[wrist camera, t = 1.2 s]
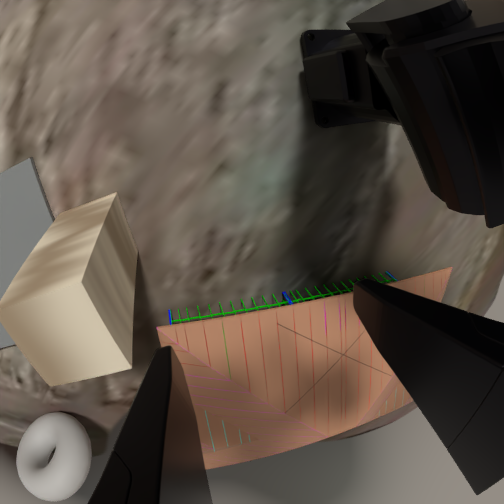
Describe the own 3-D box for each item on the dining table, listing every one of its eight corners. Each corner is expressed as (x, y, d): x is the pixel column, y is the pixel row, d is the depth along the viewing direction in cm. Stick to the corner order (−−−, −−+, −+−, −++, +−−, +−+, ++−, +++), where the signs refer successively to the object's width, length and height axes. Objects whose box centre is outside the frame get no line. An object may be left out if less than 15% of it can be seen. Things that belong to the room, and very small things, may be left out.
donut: (77, 394, 23) (71, 490, 14) (100, 413, 25) (102, 504, 16) (17, 414, 22) (6, 493, 14) (39, 431, 24) (33, 507, 15)
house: (118, 303, 21) (110, 392, 14) (455, 246, 29) (509, 283, 22) (173, 451, 31) (184, 508, 24) (402, 385, 39) (431, 423, 32)
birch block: (116, 192, 17) (81, 281, 8) (138, 250, 19) (131, 368, 10) (59, 213, 16) (-7, 311, 8) (83, 268, 18) (50, 386, 10)
